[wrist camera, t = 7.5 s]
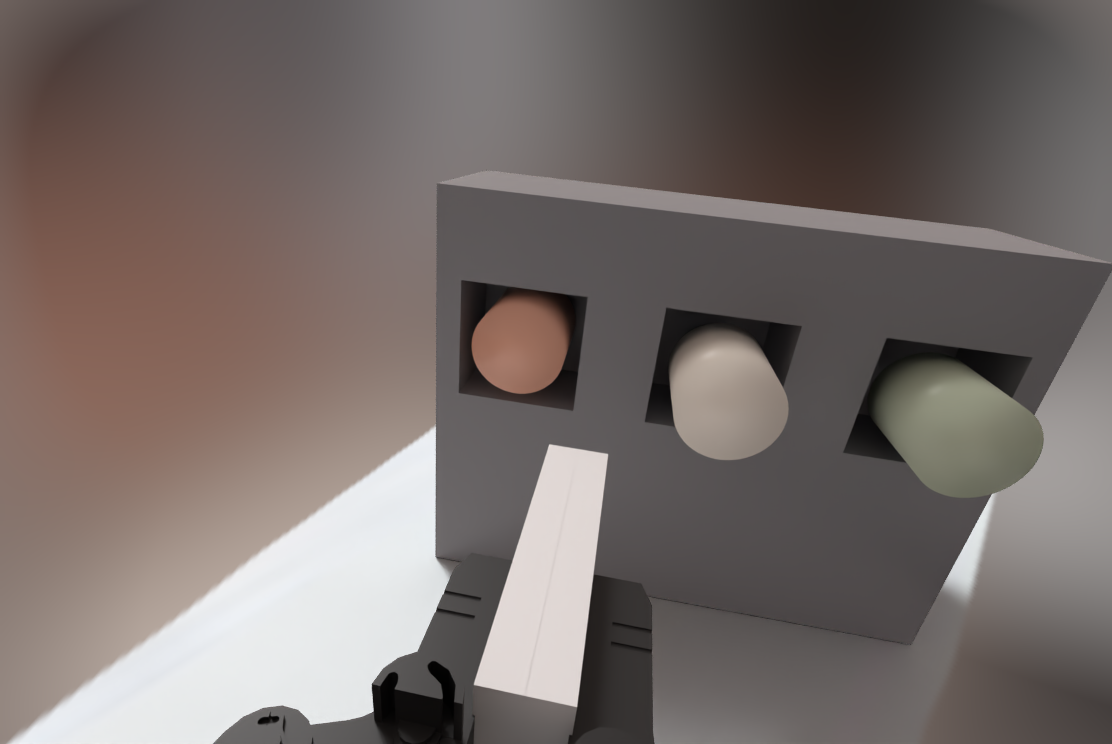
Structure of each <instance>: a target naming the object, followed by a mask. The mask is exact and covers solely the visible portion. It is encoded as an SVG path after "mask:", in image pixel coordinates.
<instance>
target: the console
mask: <svg viewBox="0 0 1112 744" xmlns="http://www.w3.org/2000/svg"><path fill="white" fill-rule="evenodd" d="M1111 271H1112V263H1109V262H1106V261H1102V260H1099V259H1095V258H1092V257H1088V256H1084V255H1081V254H1077V253H1074V252H1070V251H1066V250H1063V249H1060V248H1056V247H1052V246H1049V245H1045V244H1041V243H1038V242H1034V241H1031V240H1027V239H1024V238H1020V237H1017V236H1013V235H1010V234H1006V233H1002V232H999V231H996V230H992V229H986V228H977V227H968V226H960V225H951V224H942V223H933V222H925V221H916V220H908V219H899V218H891V217H882V216H874V215H865V214H857V213H848V212H839V211H831V210H822V209H813V208H804V207H796V206H787V205H779V204H770V203H762V202H753V201H745V200H736V199H726V198H719V197H709V196H702V195H693V194H684V193H675V192H667V191H658V190H649V189H641V188H633V187H624V186H615V185H607V184H598V183H589V182H581V181H572V180H564V179H555V178H547V177H538V176H529V175H520V174H512V173H503V172H495V171H483V172H479V173H475V174H471V175H467V176H463V177H459V178H456V179H452V180H447V181H443V182H440V183H437V292H436V297H437V300H436V305H437V306H436V315H437V316H436V317H437V318H436V557H439V558H445V559H450V560H455V561H461V562H462V561H463V560H464V559H466V558H467V557H468V556H469V555H470V554H471V553H476V554H481V555H486V556H492V557H497V558H502V559H507V560H513V558H514V555H515V552H516V549H517V545H518V542H519V539H520V536H521V533H522V529H523V526H524V523H525V520H526V517H527V514H528V510H529V507H530V504H531V501H532V498H533V495H534V491H535V488H536V485H537V482H538V479H539V476H540V472H541V469H542V466H543V463H544V460H545V457H546V453H547V450H548V447H549V444H551V445H557V446H563V447H569V448H575V449H581V450H587V451H593V452H599V453H605V454H608V460H607V468H606V476H605V484H604V492H603V501H602V509H601V517H600V525H599V533H598V541H597V549H596V557H595V566H594V574H595V575H600V576H605V577H610V578H616V579H621V580H626V581H632V582H637V583H641V584H642V586H643V588H644V590H645V592H646V595H647V596H650V597H655V598H661V599H666V600H672V601H677V602H683V603H688V604H693V605H699V606H704V607H710V608H715V609H720V610H726V611H731V612H737V613H742V614H747V615H753V616H758V617H764V618H769V619H775V620H780V621H785V622H791V623H796V624H802V625H807V626H812V627H818V628H823V629H829V630H834V631H839V632H845V633H850V634H856V635H861V636H866V637H872V638H877V639H883V640H888V641H894V642H899V643H904V644H910V645H911V644H912V642H913V640H914V638H915V636H916V634H917V632H918V631H919V629H920V627H921V625H922V623H923V621H924V619H925V618H926V616H927V614H928V612H929V610H930V608H931V606H932V604H933V603H934V601H935V599H936V597H937V595H938V593H939V591H940V590H941V588H942V586H943V584H944V582H945V580H946V578H947V577H948V575H949V573H950V571H951V569H952V567H953V565H954V564H955V562H956V560H957V558H958V556H959V554H960V552H961V550H962V549H963V547H964V545H965V543H966V541H967V539H968V537H969V536H970V534H971V532H972V530H973V528H974V526H975V524H976V523H977V521H978V519H979V517H980V515H981V513H982V511H983V510H984V508H985V506H986V504H987V502H988V500H989V498H990V496H991V495H992V494H990V495H986V496H981V497H974V498H957V497H950V496H946V495H943V494H940V493H937V492H935V491H933V490H931V489H930V488H928V487H927V486H926V485H925V484H924V483H922V481H921V480H920V479H919V478H918V476H917V475H916V474H915V473H914V471H913V470H912V469H911V468H910V466H909V465H908V464H907V463H906V461H905V460H904V459H903V458H902V456H901V455H900V454H899V453H898V451H897V450H896V449H895V448H894V446H893V445H892V444H891V443H890V441H889V440H888V439H887V438H886V436H885V435H884V434H883V433H882V431H881V430H880V429H879V428H878V426H877V425H876V424H875V423H874V421H873V420H872V418H871V416H870V414H869V411H868V402H867V400H868V394H869V391H870V388H871V386H872V384H873V382H874V381H875V379H876V378H877V377H878V375H879V374H880V373H881V372H882V371H883V370H884V369H885V368H887V367H888V366H889V365H890V364H892V363H894V362H895V361H897V360H899V359H901V358H903V357H906V356H909V355H912V354H916V353H923V352H938V353H943V354H947V355H950V356H953V357H955V358H957V359H958V360H960V361H961V362H962V363H964V364H965V365H967V366H968V367H969V368H971V369H972V370H974V371H975V372H976V373H978V374H979V375H980V376H982V377H983V378H985V379H986V380H987V381H989V382H990V383H992V384H993V385H994V386H996V387H997V388H998V389H1000V390H1001V391H1003V392H1004V393H1005V394H1007V395H1008V396H1010V397H1011V398H1012V399H1014V400H1015V401H1016V402H1018V403H1019V404H1021V405H1022V406H1023V407H1025V408H1026V409H1028V410H1029V411H1030V412H1031V413H1032V414H1033V415H1035V413H1036V411H1037V409H1038V407H1039V405H1040V403H1041V402H1042V400H1043V398H1044V396H1045V394H1046V392H1047V390H1048V388H1049V387H1050V385H1051V383H1052V381H1053V379H1054V377H1055V375H1056V373H1057V372H1058V370H1059V368H1060V366H1061V364H1062V362H1063V361H1064V359H1065V357H1066V355H1067V353H1068V351H1069V349H1070V348H1071V346H1072V344H1073V342H1074V340H1075V338H1076V336H1077V335H1078V333H1079V331H1080V329H1081V327H1082V325H1083V323H1084V321H1085V320H1086V318H1087V316H1088V314H1089V312H1090V310H1091V308H1092V307H1093V305H1094V303H1095V301H1096V299H1097V297H1098V295H1099V294H1100V292H1101V290H1102V288H1103V286H1104V284H1105V282H1106V281H1107V279H1108V277H1109V275H1110V273H1111ZM510 287H517V288H524V289H532V290H539V291H546V292H554V293H561V294H566V296H567V297H568V298H569V300H570V301H571V303H572V305H573V308H574V311H575V317H576V326H575V331H574V334H573V336H572V339H571V342H570V345H569V348H568V351H567V354H566V357H565V360H564V363H563V366H562V369H561V371H560V373H559V375H558V376H557V377H556V379H555V380H554V381H553V382H552V383H551V384H549V385H548V386H547V387H545V388H543V389H541V390H539V391H536V392H533V393H527V394H518V393H512V392H508V391H505V390H502V389H500V388H498V387H496V386H495V385H493V384H492V383H490V382H489V381H488V380H487V379H486V378H485V377H484V376H483V375H482V374H481V372H480V371H479V369H478V368H477V366H476V364H475V361H474V358H473V354H472V337H473V333H474V331H475V328H476V327H477V325H478V323H479V322H480V321H481V319H482V318H483V317H484V316H485V315H486V314H487V312H488V311H489V310H490V309H491V308H492V307H493V305H494V304H495V303H496V302H497V301H498V299H499V298H500V297H501V296H502V295H503V294H504V292H505V291H506V290H507V289H508V288H510ZM711 323H727V324H731V325H735V326H738V327H740V328H742V329H744V330H745V331H747V332H748V333H750V334H751V335H752V336H753V337H754V338H755V339H756V341H757V342H758V344H759V345H760V347H761V349H762V351H763V352H764V354H765V356H766V358H767V360H768V361H769V363H770V365H771V367H772V369H773V371H774V372H775V374H776V376H777V378H778V380H779V381H780V383H781V385H782V387H783V389H784V391H785V393H786V396H787V400H788V407H789V411H788V418H787V422H786V424H785V427H784V429H783V431H782V432H781V434H780V435H779V437H778V438H777V439H776V440H775V441H774V442H773V443H772V444H771V445H770V446H769V447H767V448H766V449H765V450H763V451H761V452H760V453H757V454H755V455H753V456H750V457H747V458H743V459H738V460H718V459H713V458H709V457H706V456H704V455H702V454H699V453H697V452H696V451H694V450H693V449H691V448H690V447H689V446H688V445H687V444H686V443H685V442H684V441H683V440H682V438H681V437H680V436H679V434H678V432H677V430H676V427H675V424H674V418H673V409H672V400H671V391H670V382H669V373H668V364H669V358H670V355H671V352H672V350H673V348H674V347H675V345H676V344H677V342H678V341H679V340H680V339H681V338H682V337H683V336H684V335H685V334H687V333H688V332H689V331H691V330H693V329H695V328H697V327H699V326H702V325H706V324H711Z"/></svg>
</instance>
